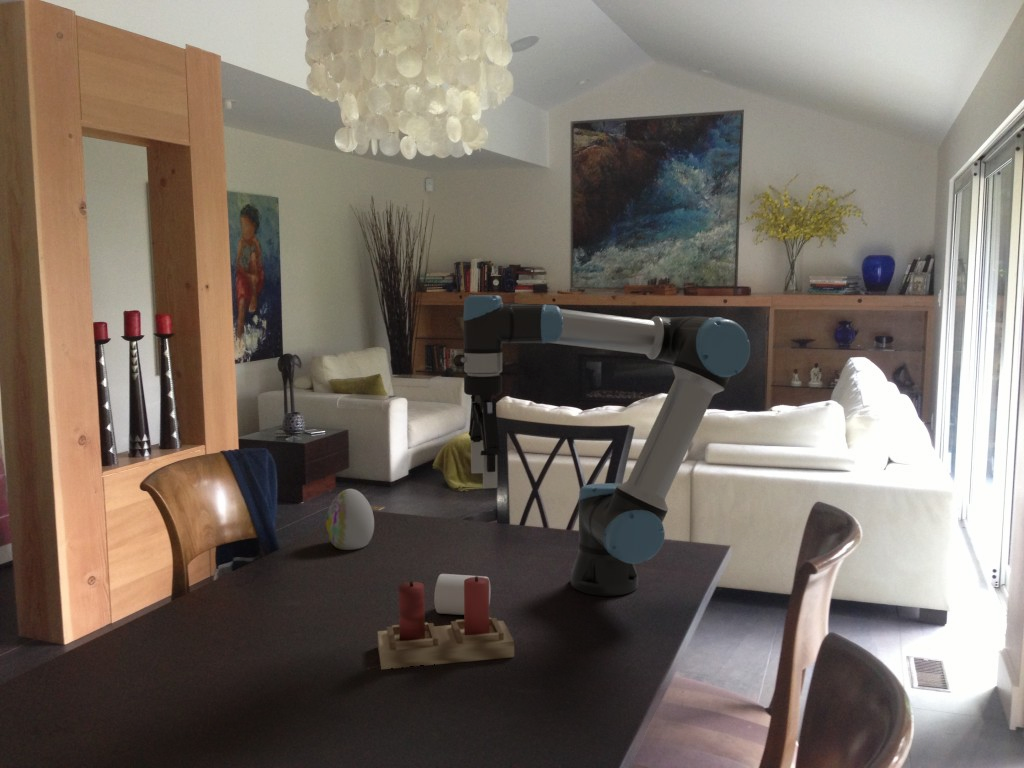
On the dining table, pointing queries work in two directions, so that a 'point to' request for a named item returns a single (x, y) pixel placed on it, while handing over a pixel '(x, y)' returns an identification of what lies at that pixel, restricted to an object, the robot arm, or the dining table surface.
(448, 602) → the mug
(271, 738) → the dining table surface
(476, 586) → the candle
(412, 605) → the oak candlestand
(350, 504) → the decorative egg
